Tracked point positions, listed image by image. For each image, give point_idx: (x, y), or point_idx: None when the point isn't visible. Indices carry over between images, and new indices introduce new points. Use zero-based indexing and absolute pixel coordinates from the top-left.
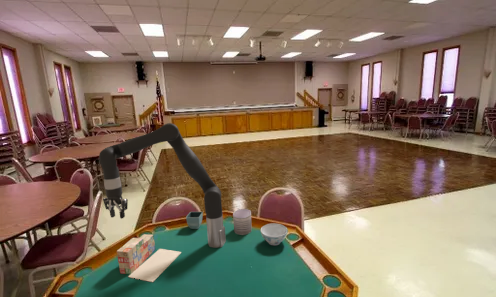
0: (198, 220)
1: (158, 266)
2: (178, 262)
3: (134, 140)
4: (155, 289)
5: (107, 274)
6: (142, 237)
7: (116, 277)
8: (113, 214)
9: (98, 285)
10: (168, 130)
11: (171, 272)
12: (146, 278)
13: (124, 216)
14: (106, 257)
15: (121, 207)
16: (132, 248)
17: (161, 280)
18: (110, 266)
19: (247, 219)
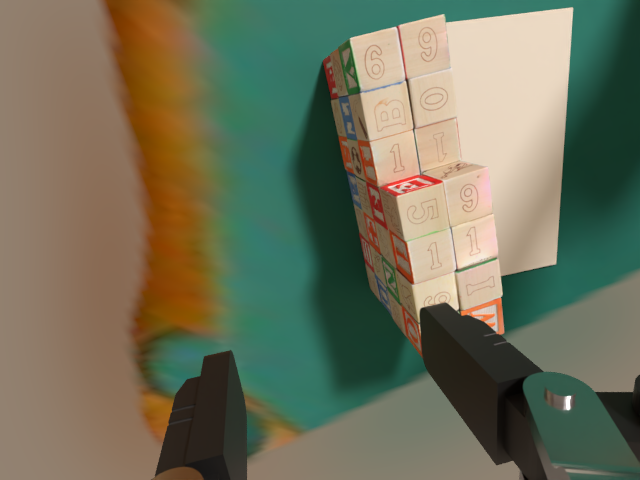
0: None
1: (521, 176)
2: (593, 100)
3: None
4: (584, 284)
5: (320, 321)
6: (386, 94)
7: (380, 314)
8: (237, 406)
9: (350, 376)
10: None
11: (596, 179)
12: (519, 262)
13: (467, 319)
14: (160, 239)
15: (554, 472)
16: (499, 292)
17: (580, 238)
18: (273, 280)
19: None
